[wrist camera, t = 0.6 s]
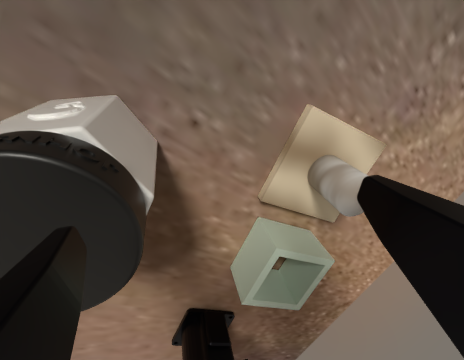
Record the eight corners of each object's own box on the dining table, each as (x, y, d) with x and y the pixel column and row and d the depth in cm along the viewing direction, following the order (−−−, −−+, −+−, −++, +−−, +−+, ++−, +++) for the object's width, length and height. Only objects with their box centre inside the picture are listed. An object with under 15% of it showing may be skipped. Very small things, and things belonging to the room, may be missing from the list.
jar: (147, 89, 19) (127, 133, 8) (166, 183, 23) (168, 294, 12) (13, 99, 17) (-218, 171, 7) (57, 200, 21) (-47, 344, 11)
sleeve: (280, 275, 32) (298, 310, 28) (230, 267, 29) (241, 304, 25) (310, 230, 30) (335, 260, 25) (258, 216, 27) (276, 248, 23)
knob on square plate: (328, 217, 30) (363, 252, 24) (257, 196, 26) (281, 232, 20) (379, 141, 26) (432, 163, 21) (307, 103, 22) (350, 119, 17)
